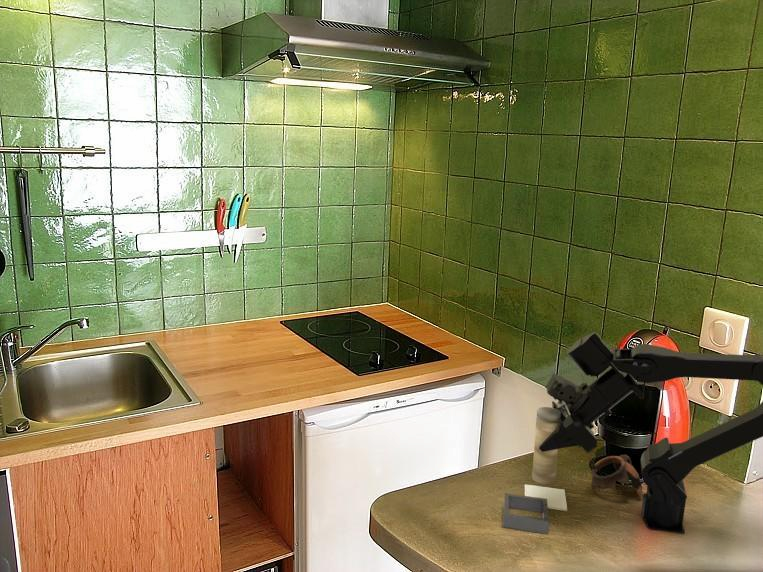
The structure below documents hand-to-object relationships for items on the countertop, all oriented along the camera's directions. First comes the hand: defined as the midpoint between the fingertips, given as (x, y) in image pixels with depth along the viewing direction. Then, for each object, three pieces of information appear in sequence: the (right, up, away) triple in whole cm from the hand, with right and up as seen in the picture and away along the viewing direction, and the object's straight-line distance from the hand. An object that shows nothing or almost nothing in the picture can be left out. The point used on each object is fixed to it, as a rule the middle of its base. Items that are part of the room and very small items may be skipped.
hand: (539, 444), depth 121 cm
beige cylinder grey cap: (+1, -7, +1) cm, 7 cm away
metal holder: (-3, -13, -3) cm, 14 cm away
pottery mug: (+19, -12, +9) cm, 24 cm away
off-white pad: (+2, -12, +5) cm, 13 cm away
